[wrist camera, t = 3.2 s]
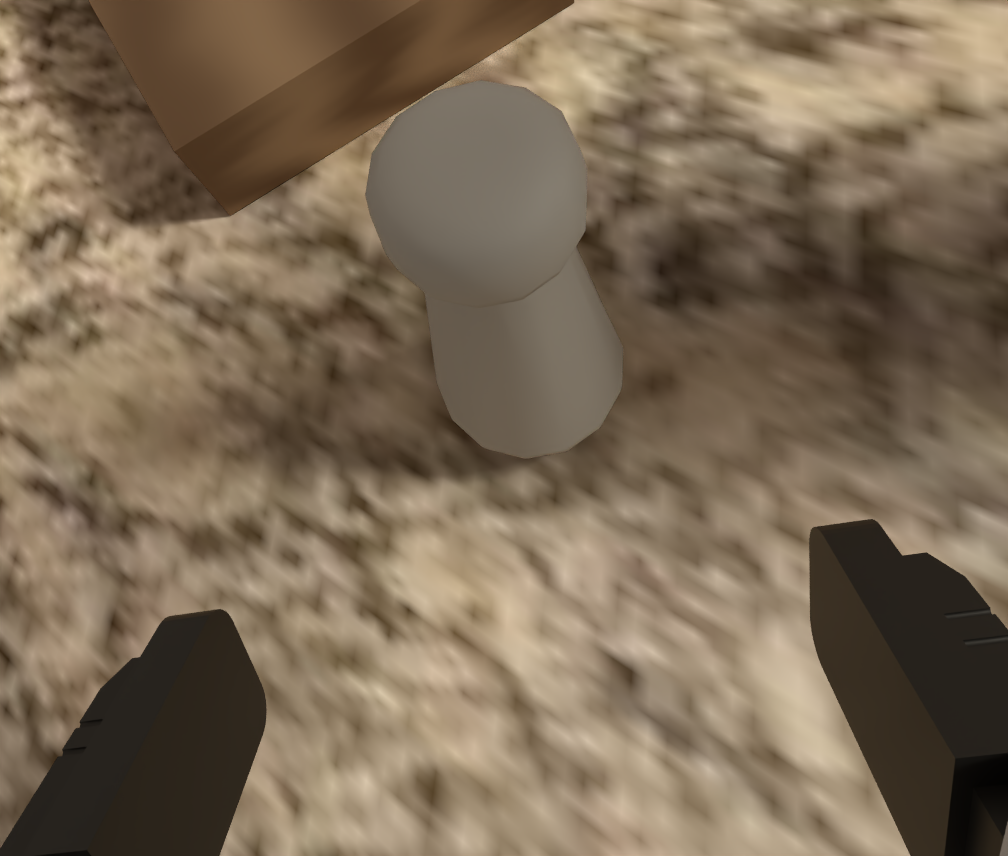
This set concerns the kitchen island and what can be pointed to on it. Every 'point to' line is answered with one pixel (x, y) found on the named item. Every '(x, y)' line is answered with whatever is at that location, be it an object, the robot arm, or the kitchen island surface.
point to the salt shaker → (499, 264)
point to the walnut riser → (295, 73)
